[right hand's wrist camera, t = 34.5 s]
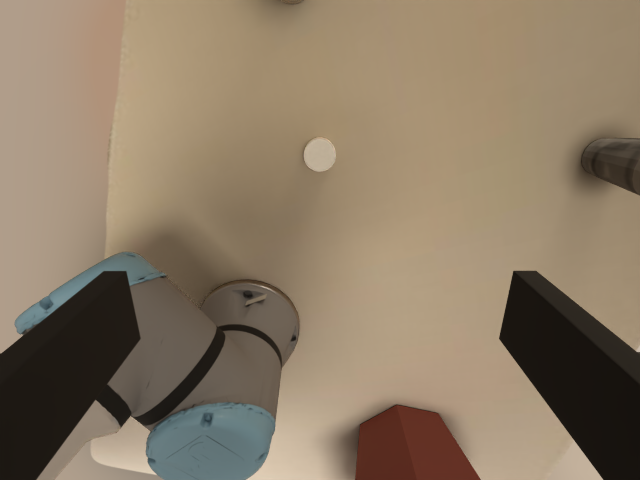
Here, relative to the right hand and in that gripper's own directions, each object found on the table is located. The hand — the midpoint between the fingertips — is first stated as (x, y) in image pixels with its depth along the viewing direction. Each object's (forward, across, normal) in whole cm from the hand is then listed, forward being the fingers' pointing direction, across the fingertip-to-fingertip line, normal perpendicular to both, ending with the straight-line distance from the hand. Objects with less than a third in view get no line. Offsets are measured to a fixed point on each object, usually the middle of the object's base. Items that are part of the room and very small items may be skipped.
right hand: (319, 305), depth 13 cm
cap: (+35, 0, 0) cm, 35 cm away
